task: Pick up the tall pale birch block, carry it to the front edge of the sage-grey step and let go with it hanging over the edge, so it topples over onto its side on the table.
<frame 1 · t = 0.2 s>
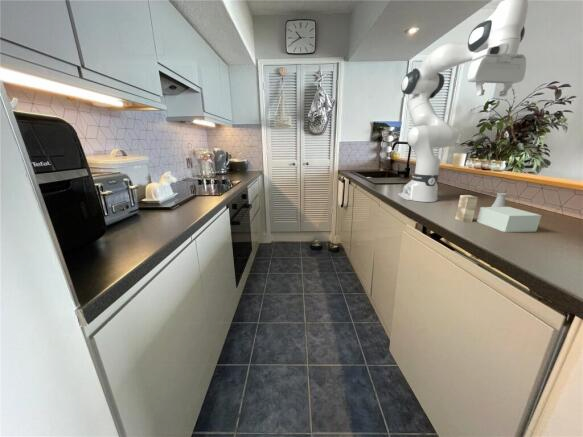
hand: (491, 95, 89), 47 cm above the counter, tool pointing down, fingers open, 8 cm apart
birch block: (463, 220, 96), on the counter
flask: (495, 216, 102), on the counter
sage step: (504, 226, 89), on the counter
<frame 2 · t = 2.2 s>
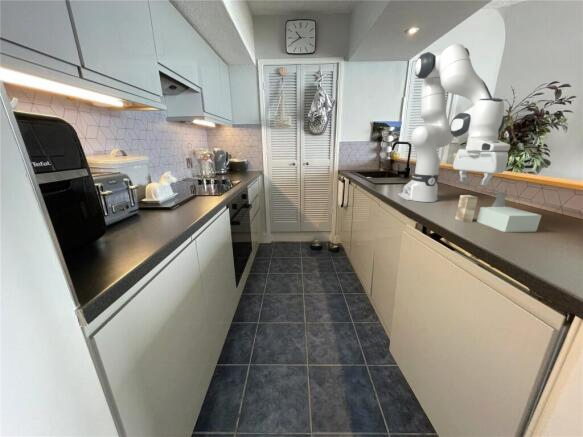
hand: (472, 183, 91), 15 cm above the counter, tool pointing down, fingers open, 8 cm apart
nothing on the counter moved.
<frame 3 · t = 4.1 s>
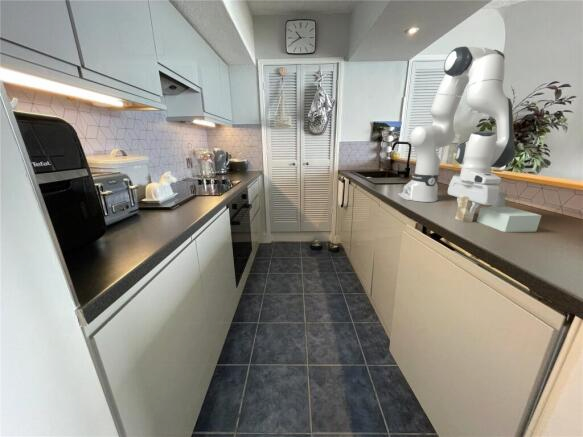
hand: (465, 210, 94), 4 cm above the counter, tool pointing down, fingers closed on birch block, 4 cm apart
birch block: (463, 220, 96), on the counter, touching gripper
everything else where it was.
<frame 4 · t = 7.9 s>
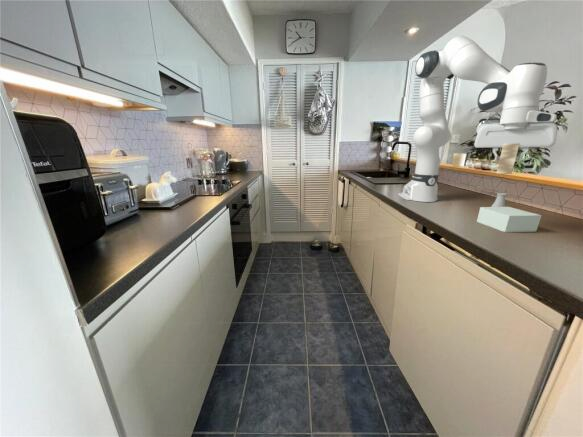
hand: (506, 161, 82), 24 cm above the counter, tool pointing down, fingers closed on birch block, 4 cm apart
birch block: (503, 173, 83), point 20 cm above the counter, touching gripper
everything else where it was.
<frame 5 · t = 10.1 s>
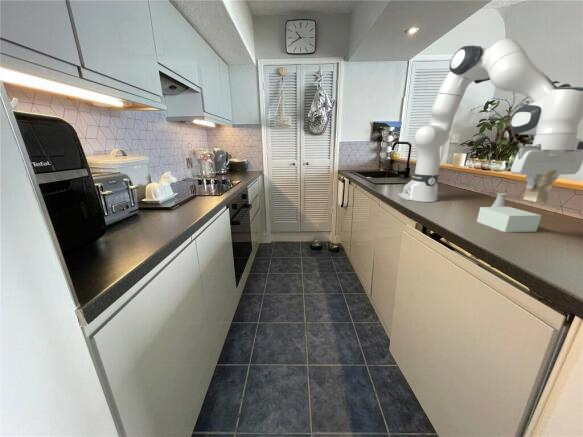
hand: (538, 188, 77), 16 cm above the counter, tool pointing down, fingers closed on birch block, 4 cm apart
birch block: (534, 200, 79), point 12 cm above the counter, touching gripper
everything else where it was.
when the fingers open (11 cm above the counter, at t = 11.8 s): birch block drops 5 cm and tips over, point 2 cm above the counter.
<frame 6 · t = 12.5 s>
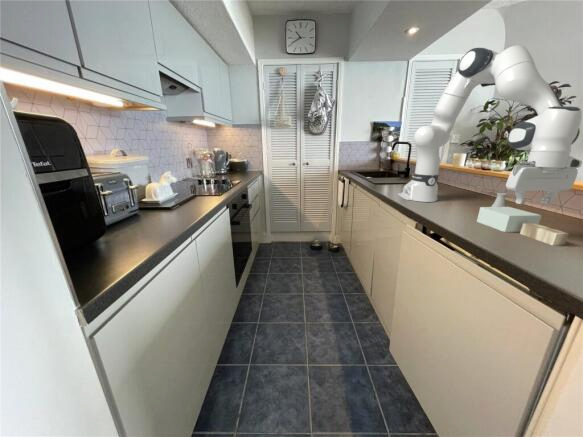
hand: (532, 203, 79), 11 cm above the counter, tool pointing down, fingers open, 8 cm apart
birch block: (526, 228, 81), point 2 cm above the counter, tilted 90°
everything else where it was.
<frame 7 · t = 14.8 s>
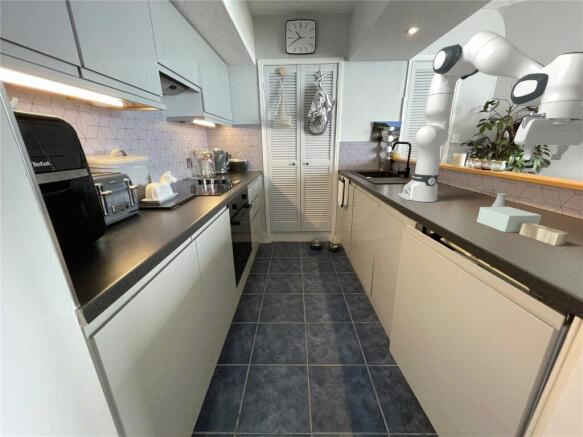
hand: (541, 159, 76), 25 cm above the counter, tool pointing down, fingers open, 8 cm apart
nothing on the counter moved.
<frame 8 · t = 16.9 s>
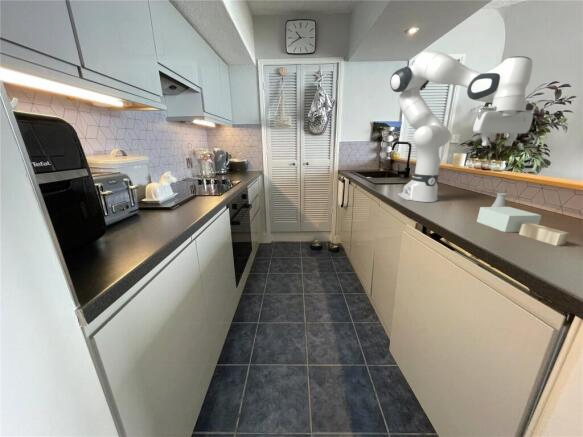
hand: (496, 145, 91), 29 cm above the counter, tool pointing down, fingers open, 8 cm apart
nothing on the counter moved.
at the end: birch block tilted 90°; birch block inside the target area (4.5 cm from its centre), point 1.7 cm above the counter; the gripper is holding nothing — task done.
